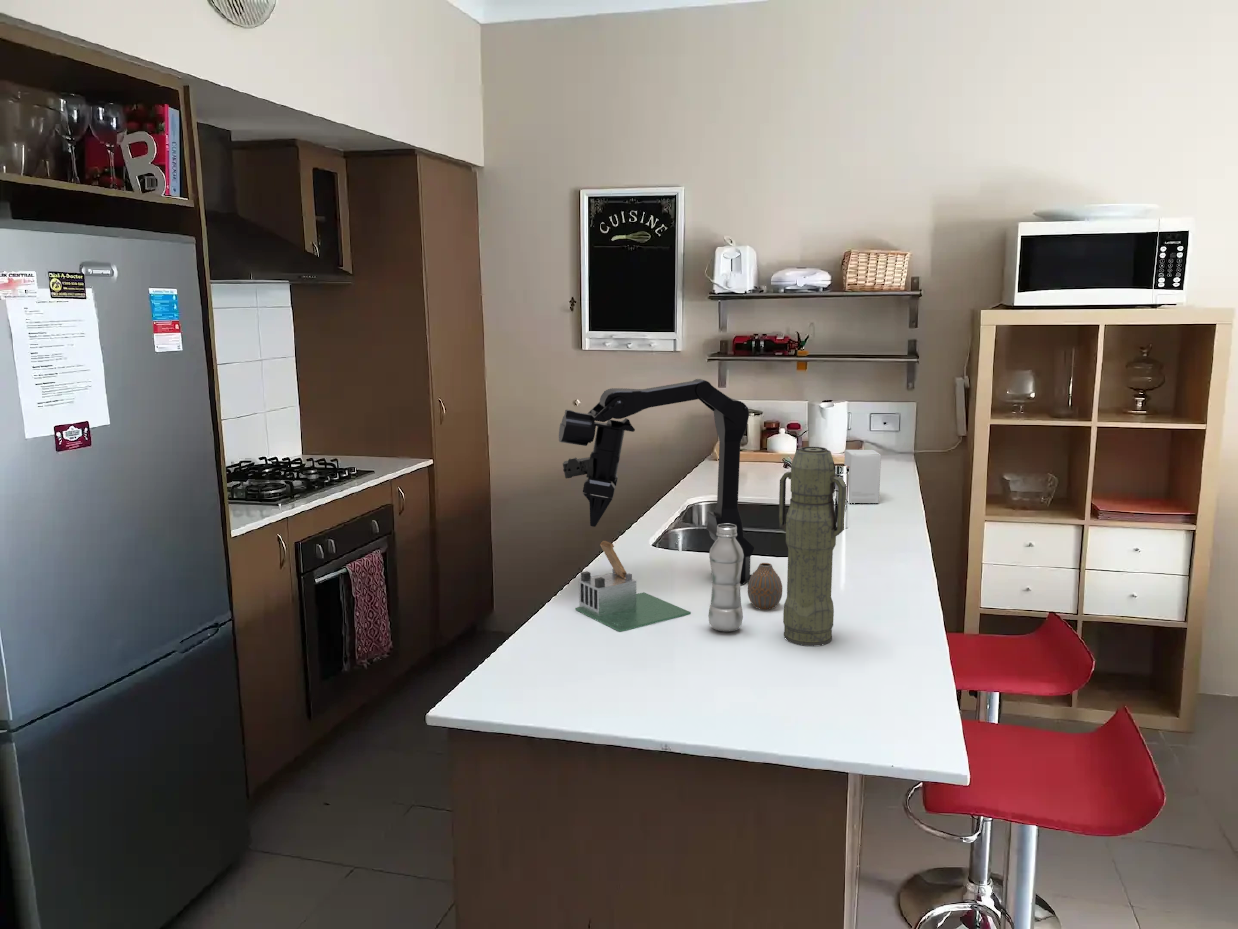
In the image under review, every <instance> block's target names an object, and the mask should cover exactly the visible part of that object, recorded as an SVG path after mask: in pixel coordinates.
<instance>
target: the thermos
mask: <svg viewBox="0 0 1238 929" xmlns="http://www.w3.org/2000/svg"><path fill="white" fill-rule="evenodd" d="M834 461H835V460H834V458H833V455H832V451H830V450H828V448H826V447H822V446H821V447H820V446H802V447H800V448H799V449H796V450H795V453H794V455H793V458H792V461H791V463H790V464H791V465H790V471H786V472H785V473H784V474H783V475H782V476H781V477H780V479H779V493H778V494H779V495H778V496H779V497H778V500H779V501H778V503H779V504H778V505H779V506H778V521H779V522H778V524H779V529H782V530H783V532H785V544H786V547H787V548H788V549H787V581H786V582H787V584H786V599H785V601H784V605H783V612H782V613H783V616H782V618H783V619H782V621H783V622H782V623H783V626H784V629H783V630H784V631H783V638H784V639H785V638H786V639H787V640H788V641H787V640H786V639H785V640H786V641H787V642H789V643H791V644H794V645H798V644H802V645H801V646H804V645H813V646H812V647H815V646H814V645H820V646H823V645H822V644H824V645H827V644H829V643H830V641H831V642H832V640H833V633H832V631H833V627H834V615H835V614H834V612H835V611H834V602H833V599H832V583H833V582H832V581H833V555H834V553H833V552H834V549H835V547H836V545H837V544H836V543H837V536H839V535H840V534H842V533H843V531H845V513H846V502H847V501H846V487H847V486H846V484H845V482H844V478H842V477H840V476H837V474H836V473H835V472H836V471H835V470H836V468H835V467H836V465H835V462H834ZM787 479H788V480H790V493H791V495H790V496H791V498H790V500H789V507H788V508H787V509H788V510H787V513H786V497H787V496H786V492H787V491H786V490H787V488H786V487H787ZM835 484H836V486H837V487H838V490H837V494H838V495H837V512H836V511H835V508H834V506H835V505H834V504H835V503H834V502H835V501H834V498H833V496H834V495H833V494H834V493H835ZM836 513H837V514H836ZM831 639H832V640H831Z"/></svg>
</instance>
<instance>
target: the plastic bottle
mask: <svg viewBox="0 0 1238 929" xmlns="http://www.w3.org/2000/svg"><path fill="white" fill-rule="evenodd" d="M716 535H717V536H718V539H717V540H716V541H714V542H713V544H712V546H711V547H710V548H709V552H708V554H709V563H710V571H711V595H710V597H711V598H710V604H709V609H708V621H709V625H710V626H711V628H712V629H713V630H714V631H719V632H734V631H737V630H739V629H740V627H742V624H743V620H744V613H743V607H742V600H741V596H742V595H741V584H740V581H741V570H742V564H743V556H744V554H743V550H742V548H741V546H740V544H739V543H738V541H737V540H736V538H735V537H736V536H737V526H736V525H734V524H719V525H717V533H716Z"/></svg>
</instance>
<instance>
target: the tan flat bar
mask: <svg viewBox="0 0 1238 929" xmlns="http://www.w3.org/2000/svg"><path fill="white" fill-rule="evenodd" d="M599 546H600V547H601V549H602V551H603V553H604V555H605V556H606V559H607V560H608V562H609V564H610V566H611V567H612V569H614V571H615V573H616V575H618V576H620V577H623V578H625V579H626V574H628V573H627V571H626V569H625V567H624V566H623V564H622V563H621V560H620V558H619V556H618V555H617V553H616V550H615V549H614V547H615V545H614V544H613V543H612V542H609V541H606V540H602V542H601V543H599Z"/></svg>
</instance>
